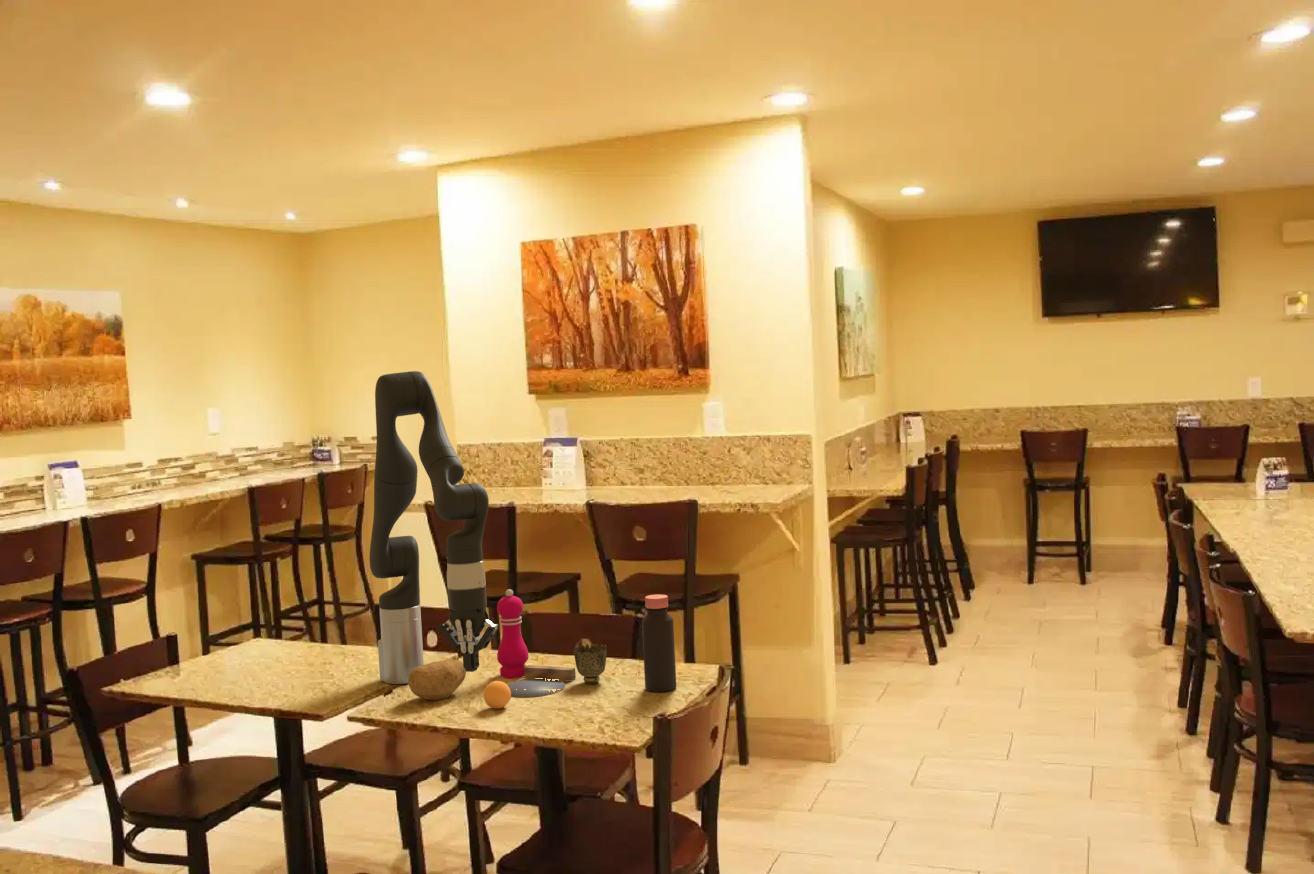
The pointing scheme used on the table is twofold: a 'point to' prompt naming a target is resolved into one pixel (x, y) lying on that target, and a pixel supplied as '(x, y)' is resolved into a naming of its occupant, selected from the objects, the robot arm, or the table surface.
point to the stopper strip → (549, 672)
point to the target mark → (534, 687)
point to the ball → (497, 694)
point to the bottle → (658, 645)
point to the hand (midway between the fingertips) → (471, 670)
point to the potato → (437, 679)
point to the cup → (590, 662)
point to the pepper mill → (511, 637)
